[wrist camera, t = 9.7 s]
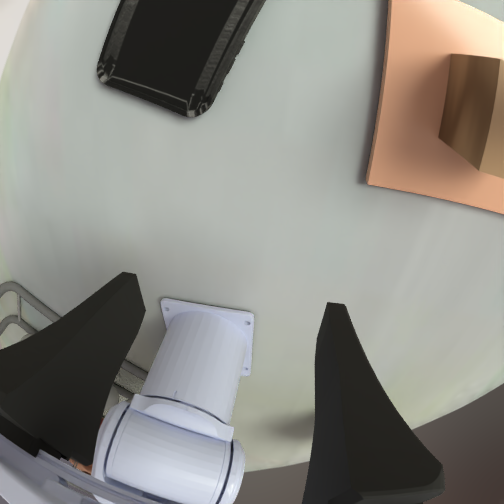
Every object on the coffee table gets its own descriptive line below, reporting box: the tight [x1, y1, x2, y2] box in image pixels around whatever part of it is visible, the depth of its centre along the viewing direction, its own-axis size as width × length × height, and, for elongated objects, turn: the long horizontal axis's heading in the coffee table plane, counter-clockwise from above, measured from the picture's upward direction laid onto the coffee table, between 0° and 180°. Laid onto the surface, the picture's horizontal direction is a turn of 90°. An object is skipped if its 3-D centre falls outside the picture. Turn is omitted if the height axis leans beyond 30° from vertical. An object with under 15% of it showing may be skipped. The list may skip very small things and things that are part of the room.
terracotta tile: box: [366, 0, 504, 214], centre depth 13 cm, size 12×12×1 cm
